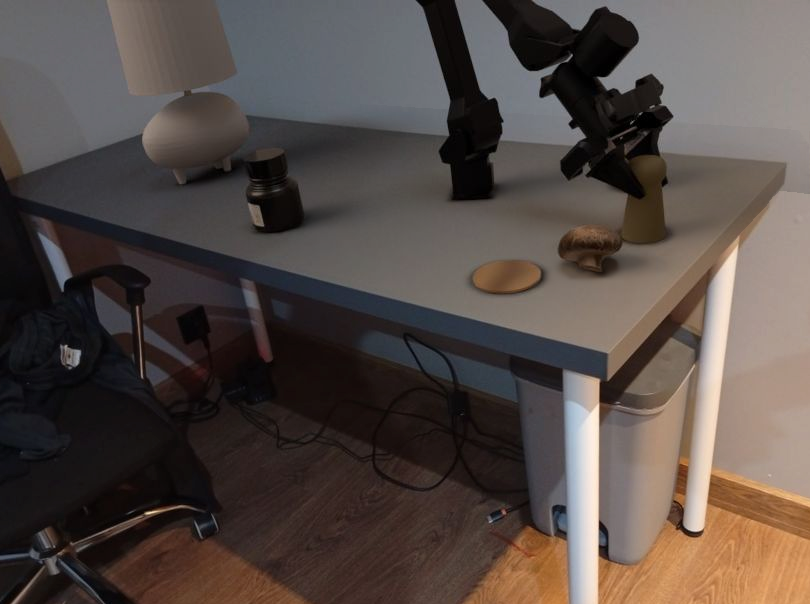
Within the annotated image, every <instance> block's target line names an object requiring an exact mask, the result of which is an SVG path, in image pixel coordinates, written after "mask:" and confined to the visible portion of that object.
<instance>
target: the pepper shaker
mask: <svg viewBox="0 0 810 604" xmlns="http://www.w3.org/2000/svg"><path fill="white" fill-rule="evenodd" d="M628 165H629V167H630V169H631V170H632V172H633V173H634V175H635V176H636V178H637V179H638V181H639V182H640V184H641V186H642V188H643V190H644V191H645V193H646V196H645V197H643V198H642V199H640V200H639V199H637V198H635V197H633V196H631V195H629V194H627V197H626V203H625V209H624V213H623V214H624V215H623V219H622V220H623V221H622V227H621V232H620V237H621V239H622V240H625V241H627V242H630V243H635V244H650V243H655V242H659V241H662V240H663V239H664V238H666V236H667V230H666V216H665V207H664V206H665V205H664V194H663V187H662V180H663V179H664V178H665V176H667V170H668V169H667V167H668V166H667V162H666V161H665V158H663V157H662V156H660V157H659V156H656V155H641V156H637V157H634V158H632V159H631V160H630V161H629V162H628Z"/></svg>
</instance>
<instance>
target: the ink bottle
mask: <svg viewBox="0 0 810 604" xmlns="http://www.w3.org/2000/svg"><path fill="white" fill-rule="evenodd" d="M242 160H243V164H244V169H245V172H246V176H247V179H248V181H249V184H248V185H247V187H246V189H245V198H246V202H247V205H248V209H249V213H250V217H251V220H252V221H251V222H252V224H253V227H254V229H255V230H256V231H259V232H263V233H265V232H266V233H269V232H280V231H285V230H288V229H291V228H295V227H296V226H298V225H299V224H301V223H302V221H303V220H304V219H305V212H304V207H303V201H302V197H301V193H300V188H299V183H298V181H297V179H295V178H294V177H293V176H291V175H290V174H289V166H288V161H287V157H286V152H285V149H283V148H279V147H268V148H261V149H257V150H254V151H252V152H249V153H247V154H245V155H244V156H243V159H242Z"/></svg>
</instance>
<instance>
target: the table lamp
mask: <svg viewBox="0 0 810 604" xmlns="http://www.w3.org/2000/svg"><path fill="white" fill-rule="evenodd" d="M106 2H107V7H108V10H109V16H110V19H111V23H112V28H113V31H114V35H115V40H116V45H117V48H118V52H119V56H120V60H121V64H122V68H123V74H124V77H125V81H126V86H127V89H128V93H129V94H130V95H132V96H137V97H139V96H140V97H149V96H161V95H170V94H176V93H180V92H183V95H182V96H180V97H177V98H176V99H173V100H172V101H170V102H168V103H167V104H166V105H165V106H163V107H162V108H161V109H160V110H159V111H158V112H157V113H156V114H155V115H154V116H153V117H152V118H151V119H150V121H148V123H147V125H146V126H145V128H144V130H143V132H142V139H141V140H142V146H143V149H144V151H145V154H146V155H147V157H148V158H149V159H150V160H151V162H153V163H155V164H156V165H158V166H160V167H163V168H168V169H172V171H173V174H174V176H175V178H176V180H177V182H178V184H179V185H185V184H187V174H186V169H192V168H193V169H194V168H198V167H199V168H200V167H204V166H207V165H211V164H213V165H214V167H215V169H223V171H224V172H229V171H232V165H231V155H233V154H235V153H236V152H238V151H239V150H240V149H241V148H242V147H243V145H244V144H245V143H246V142H247V140H248V138H249V134H250V125H249V121H248V118H247V116H246V113H245V111H244V110H243V109H242V107H241V106H240V105H239V104H238V103H237V102H236V100H234V99H233V98H231V97H230V96H228V95H226V94H224V93H221V92H218V91H217V92H215V91H197V92H192V90H195V89H200V88H204V87H205V88H206V87H208V86H212V85H215V84H218V83H221V82H225V81H226V80H229V79H231V78H233V77H235V76H236V75H237V74H238V70H237V65H236V63H235V59H234V57H233V54H232V50H231V47H230V44H229V41H228V37H227V34H226V32H225V28H224V25H223V22H222V19H221V15H220V12H219V9H218V6H217V2H216V0H106Z"/></svg>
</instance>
